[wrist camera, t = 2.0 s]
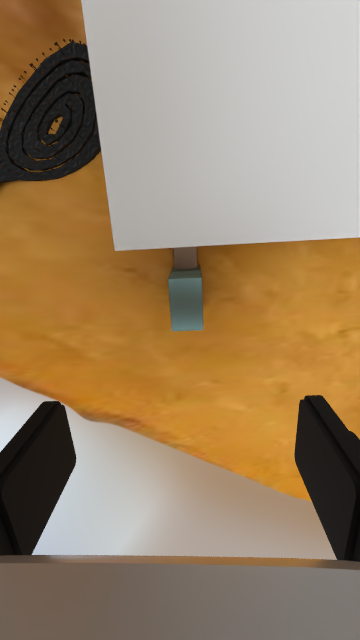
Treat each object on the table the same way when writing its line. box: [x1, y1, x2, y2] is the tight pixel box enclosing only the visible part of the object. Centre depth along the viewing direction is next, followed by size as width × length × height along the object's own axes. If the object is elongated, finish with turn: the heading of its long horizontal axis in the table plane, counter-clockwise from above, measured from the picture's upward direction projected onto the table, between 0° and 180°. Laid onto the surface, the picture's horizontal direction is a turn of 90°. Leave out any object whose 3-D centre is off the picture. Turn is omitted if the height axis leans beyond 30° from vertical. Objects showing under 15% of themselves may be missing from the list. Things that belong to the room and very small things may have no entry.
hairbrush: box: [0, 39, 101, 183], centre depth 27 cm, size 8×4×25 cm
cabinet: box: [81, 0, 360, 251], centre depth 20 cm, size 14×17×16 cm
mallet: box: [168, 246, 203, 331], centre depth 26 cm, size 19×3×7 cm, turn 3°
